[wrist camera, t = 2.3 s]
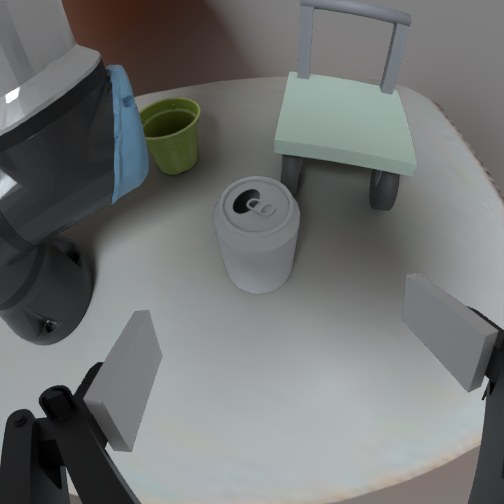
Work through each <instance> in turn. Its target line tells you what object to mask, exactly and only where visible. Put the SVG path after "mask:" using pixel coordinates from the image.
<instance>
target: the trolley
mask: <svg viewBox="0 0 504 504" xmlns="http://www.w3.org/2000/svg"><path fill="white" fill-rule="evenodd" d="M314 9H323V10H330V11H336V12H342V13H348V14H354V15H359V16H364V17H368V18H373V19H377V20H382V21H386V22H390V23H394V28H393V33H392V37H391V42H390V47H389V51H388V56H387V60H386V64H385V68H384V73H383V77H382V81H381V85H380V86H376V85H372V84H367V83H362V82H357V81H352V80H346V79H341V78H335V77H328V76H322V75H314V74H309V70H310V56H311V43H312V28H313V11H314ZM410 24H411V15H410V14H408V13H404V12H400V11H397V10H393V9H390V8H386V7H382V6H377V5H373V4H368V3H364V2H358V1H353V0H300V26H299V50H298V70H297V72H290V73H289V77H288V81H287V86H286V90H285V94H284V99H283V103H282V107H281V112H280V116H279V120H278V125H277V129H276V133H275V138H274V153H278V154H283V155H282V173H281V183H282V184H283V185H285V186H286V187H287V189H288V190H289V191H290V193H291V194H292V195H297V189H298V182H299V174H300V173H301V169H302V161H303V157H308V158H315V159H321V160H327V161H334V162H339V163H345V164H351V165H356V166H362V167H367V168H372V169H373V171H372V176H371V182H370V204H371V207H372V208H375V209H381V210H386V211H389V210H390V209H391V208H392V206H393V204H394V202H395V199H396V196H397V192H398V187H399V176H400V175H405V176H409V177H412V176H413V174H414V172H415V170H416V168H417V160H416V156H415V151H414V147H413V143H412V139H411V135H410V131H409V127H408V124H407V120H406V116H405V113H404V109H403V106H402V103H401V100H400V96H399V93H398V91H397V90H393V89H394V86H395V82H396V79H397V75H398V71H399V67H400V64H401V60H402V56H403V52H404V48H405V44H406V40H407V35H408V31H409V27H410Z"/></svg>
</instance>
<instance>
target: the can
mask: <svg viewBox="0 0 504 504" xmlns="http://www.w3.org/2000/svg"><path fill="white" fill-rule="evenodd" d="M213 220H214V227H215V231H216V235H217V239H218V242H219V246H220V250H221V253H222V257H223V261H224V264H225V268H226V271H227V274H228V276H229V278H230V280H231V281H232V282H233V283H234V284H235V285H236V286H237V287H238V288H240V289H242V290H244V291H246V292H248V293H255V294H262V293H269V292H271V291H274V290H276V289H278V288H280V287H281V286H282V285H283V284H284V283H285V282H286V281H287V279H288V277H289V275H290V273H291V271H292V265H293V259H294V253H295V247H296V241H297V235H298V229H299V221H300V211H299V207H298V204H297V202H296V200H295V199H294V198H293V196H292V194H291V193H290V191H289V190H288V189H287V187H286V186H285V185H283V184H282V183H280V182H279V181H278V180H275V179H272V178H270V177H266V176H249V177H244V178H241V179H239V180H236V181H234V182H233V183H232V184H230V185H229V186H228V187H226V189H225V190H224V191H223V193H222V194H221V196H220V199H219V201H218V202H217V203H216V206H215V210H214V213H213Z"/></svg>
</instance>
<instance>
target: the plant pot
mask: <svg viewBox="0 0 504 504" xmlns="http://www.w3.org/2000/svg"><path fill="white" fill-rule="evenodd" d="M200 114H201V110H200V106H199V104H198V103H197V102H195V101H194V100H191V99H188V98H182V97H173V98H167V99H163V100H160V101H157V102H154V103H152V104H150V105H148V106H147V107H145V108H144V109H142V110H141V111H140V112H139V115H140V119H141V123H142V127H143V131H144V135H145V140H146V145H147V148H148V150H149V151H150V153H151V155H152V156H153V158H154V160H155V162H156V163H157V165H158V167H159V168H160V170H161V171H162V172H164V173H166V174H171V175H175V174H179V173H181V172H183V171H188V170H189V169H191V168H192V167H193V166H194V165H195V164H196V162H197V159H198V148H197V124H198V119H199V117H200Z"/></svg>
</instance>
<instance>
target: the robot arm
mask: <svg viewBox="0 0 504 504" xmlns="http://www.w3.org/2000/svg"><path fill="white" fill-rule="evenodd" d="M134 102H135V99H134V96H133V92H132V87H131V84H130V81H129V79H128V76H127V74H126V72H125V70H124V69H123V67H122V66H121V65H114V66H113V65H109V66H107V67H106V68H105V66H104V63H103V61H102V58H101V56H100V53H99V52H97V51H95V50H92V49H89V48H86V47H82V46H79V45H78V44H76V43H75V40H74V37H73V35H72V32H71V29H70V26H69V23H68V21H67V18H66V15H65V12H64V9H63V6H62V2H61V0H0V316H1V318H2V319H3V320H4V321H5V322H6V323H7V325H8V326H9V327H10V328H11V329H12V330H13V331H14V332H15V333H16V334H17V335H18V336H19V337H21V338H22V339H24V340H27V341H29V342H31V343H34V344H37V345H51V344H54V343H57V342H59V341H61V340H62V339H64V338H65V337H67V336H68V335H69V334H70V333H71V332H72V331H73V330H74V329H75V328H76V326H77V325H78V324H79V322H80V321H81V319H82V317H83V316H84V314H85V312H86V309H87V307H88V304H89V301H90V297H91V293H92V284H93V277H92V269H91V265H90V262H89V260H88V258H87V256H86V254H85V253H84V252H83V251H82V250H81V248H80V247H79V246H78V245H77V244H76V243H75V242H73V241H72V240H71V239H69V238H67V237H65V236H63V235H60V234H59V233H60V232H62V231H64V230H65V229H67V228H69V227H70V226H72V225H74V224H75V223H77V222H79V221H80V220H82V219H84V218H85V217H87V216H89V215H91V214H92V213H94V212H96V211H98V210H100V209H101V208H103V207H105V206H107V205H109V204H110V205H112V204H114V203H115V202H116V201H117V200H118V198H120V197H121V196H123V195H125V194H127V193H128V192H130V191H132V190H133V189H135V188H137V187H139V186H140V185H141V184H142V183H143V182H144V180H145V178H146V177H147V175H148V171H149V157H148V150H147V145H146V140H145V135H144V131H143V127H142V123H141V119H140V115H139V112H138V108H137V106H136V104H135V103H134ZM402 321H403V322H404V323H405V324H406V325H407V326H408V328H409V329H410V330H411V331H412V332H413V333H414V334H415V335H416V336H417V337H418V338H419V339H420V340H421V341H422V342H423V343H424V344H425V346H426V347H427V348H428V349H429V350H430V351H431V352H432V353H433V354H434V355H435V356H436V357H437V359H438V360H439V361H440V362H441V363H442V364H443V365H444V366H445V367H446V368H447V370H448V371H449V372H450V373H451V374H452V375H453V376H454V377H455V379H456V380H457V381H458V382H459V383H460V384H461V385H462V386H463V388H464V389H465V390H466V391H467V392H470V391H472V390H474V389H477V388H479V387H481V384H482V382H483V379H484V376H485V375H486V376H487V377H488V378H489V382H488V385H487V387H486V390H485V392H484V395H483V397H482V400H484V398H485V397H486V407H485V417H484V426H483V434H482V440H481V447H480V453H479V458H478V463H477V468H476V473H475V478H474V482H473V486H472V490H471V494H470V497H469V501H468V504H504V330H503V329H501V328H500V327H499V326H498V325H496V324H495V323H494V322H492V321H491V320H489V319H488V318H487V317H485V316H483V314H481V313H480V312H479V311H477V310H476V309H473V308H470V307H468V306H465V305H464V304H462V303H461V302H459V301H458V300H457V299H455V298H454V297H452V296H451V295H450V294H448V293H447V292H445V291H444V290H442V289H441V288H440V287H438V286H437V285H435V284H434V283H432V282H431V281H429V280H428V279H427V278H425V277H424V276H422V275H421V274H419V273H418V272H417V273H412V274H406V278H405V293H404V305H403V315H402ZM161 358H162V353H161V350H160V347H159V343H158V340H157V337H156V333H155V330H154V327H153V323H152V319H151V316H150V312H149V310H145V311H135V312H134V314H133V315H132V317H131V318H130V320H129V322H128V323H127V325H126V326H125V328H124V330H123V331H122V333H121V335H120V336H119V338H118V340H117V341H116V343H115V344H114V346H113V348H112V349H111V351H110V353H109V355H108V356H107V358H106V360H105V361H104V362H98V363H96V364H95V365H94V366H93V367H92V368H90V369H89V371H88V373H87V374H86V376H85V378H84V379H83V381H82V382H81V383H82V384H80V386H79V387H78V389H77V391H76V392H75V394H74V396H73V395H72V393H71V391H70V390H69V388H68V387H66V386H63V385H57V386H53V387H50V388H49V389H47V390H45V391H44V392H43V393H42V394H41V396H40V397H39V404H40V406H41V407H42V409H43V411H44V412H45V414H46V416H47V417H46V418H37V419H36V418H35V417H34V415H33V414H32V412H31V411H30V410H27V409H20V410H18V411H15V412H13V413H12V414H11V415H10V416H9V417H8V419H7V422H6V427H5V433H4V440H3V447H2V455H1V464H0V504H70V499H69V492H68V484H67V476H66V468H67V470H68V473H69V475H70V477H71V480H72V482H73V484H74V487H75V489H76V491H77V493H78V495H79V497H80V499H81V501H82V503H83V504H141V503H140V501H139V500H138V498H137V497H136V496H135V494H134V493H133V491H132V490H131V489H130V487H129V486H128V484H127V483H126V481H125V480H124V478H123V477H122V475H121V474H120V472H119V470H118V469H117V467H116V466H115V464H114V462H113V461H112V459H111V458H110V456H109V454H108V453H107V451H106V450H105V447H106V444H107V442H109V444H110V446H111V447H112V449H113V450H114V451H125V452H132V449H133V446H134V442H135V439H136V436H137V432H138V429H139V426H140V423H141V419H142V416H143V413H144V410H145V407H146V404H147V400H148V397H149V394H150V391H151V388H152V385H153V382H154V379H155V376H156V373H157V370H158V367H159V364H160V361H161Z"/></svg>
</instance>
